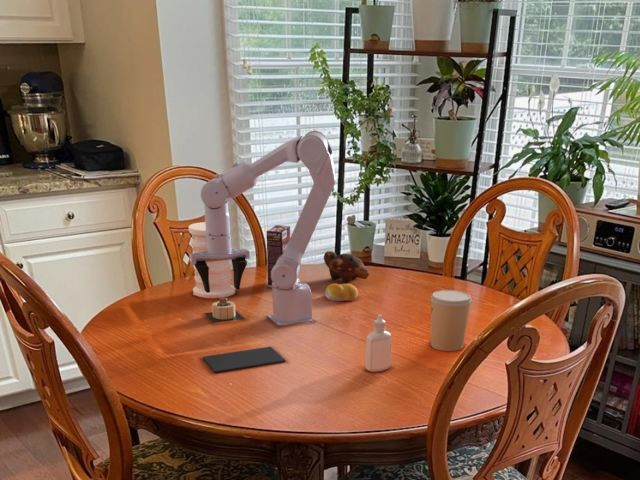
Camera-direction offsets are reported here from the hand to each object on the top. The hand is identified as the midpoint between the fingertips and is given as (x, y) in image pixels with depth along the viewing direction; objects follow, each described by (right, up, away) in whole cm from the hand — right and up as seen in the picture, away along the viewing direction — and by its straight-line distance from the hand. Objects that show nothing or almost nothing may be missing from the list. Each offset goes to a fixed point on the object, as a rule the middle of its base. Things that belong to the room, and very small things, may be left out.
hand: (222, 289), depth 177 cm
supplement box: (+11, +9, +30) cm, 33 cm away
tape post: (0, -6, +4) cm, 7 cm away
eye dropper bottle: (+38, -23, -22) cm, 50 cm away
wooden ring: (0, -6, +3) cm, 7 cm away
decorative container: (-6, +5, +21) cm, 23 cm away
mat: (+9, -21, -20) cm, 30 cm away
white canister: (+55, -16, -8) cm, 58 cm away
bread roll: (+29, +3, +21) cm, 36 cm away
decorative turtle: (+30, +12, +36) cm, 49 cm away
